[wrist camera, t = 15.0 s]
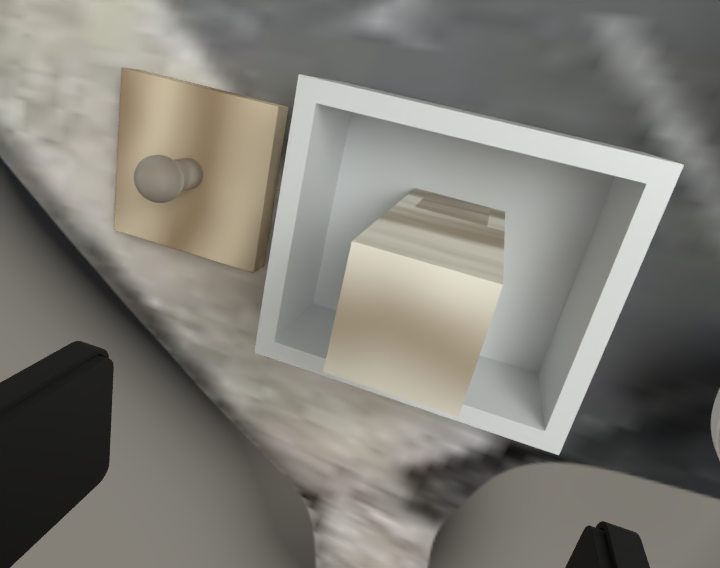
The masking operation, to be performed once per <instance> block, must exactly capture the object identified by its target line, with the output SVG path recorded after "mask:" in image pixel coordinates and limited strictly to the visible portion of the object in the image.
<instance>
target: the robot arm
mask: <svg viewBox="0 0 720 568" xmlns="http://www.w3.org/2000/svg"><path fill="white" fill-rule="evenodd" d="M112 389H113V362H112V360H110V359H109V355H108V353H107V351H106V350H104V349H102V348H99V347H96V346H93V345H90V344H87V343H84V342H81V341H76V342H73V343H71V344H69V345H67V346H65V347H63V348H62V349H60V350H58V351H56V352H54V353H53V354H51V355H49V356H47V357H46V358H44V359H42V360H40V361H38V362H37V363H35V364H33V365H32V366H30V367H28V368H26V369H24V370H22V371H20V372H19V373H17V374H15V375H13V376H12V377H10V378H8V379H6V380H4V381H2V382H1V383H0V568H10V567H11V566H12V565H13V564H14V563H15V562H16V561H17V560H18V559H19V558H21V557H22V556H23V555H24V554H25V553H26V552H27V551H28V550H29V549H30V548H31V547H32V546H33V545H34V544H35V543H36V542H38V541H39V540H40V539H41V538H42V537H43V536H44V535H45V534H46V533H47V532H48V531H49V530H50V529H51V528H52V527H53V526H54V525H56V524H57V523H58V522H59V521H60V520H61V519H62V518H63V517H64V516H65V515H66V514H67V513H68V512H69V511H70V510H71V509H72V508H74V507H75V506H76V505H77V504H78V503H79V502H80V501H81V500H82V499H83V498H84V497H85V496H86V495H87V494H88V493H89V492H90V491H91V490H93V489H94V488H95V487H96V486H97V485H98V484H99V483H100V482H101V481H102V479H103V478H104V476H105V474H106V472H107V470H108V467H109V456H110V434H111V433H110V432H111V411H112ZM566 568H650V567H649V563H648V560H647V557H646V554H645V551H644V548H643V544H642V541H641V539H640V537H639V535H638V534H637V533H636V532H633V531H630V530H627V529H624V528H621V527H618V526H616V525H612V524H610V523H607V522H604V521H603V522H600V523H599V524H598V525H597V526H596V528H595V527H592V526H587V527H586V528H585V529H584V531H583V533H582V535H581V537H580V539H579V541H578V543H577V545H576V547H575V549H574V551H573V553H572V556H571V557H570V559H569V561H568V563H567V565H566Z"/></svg>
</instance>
